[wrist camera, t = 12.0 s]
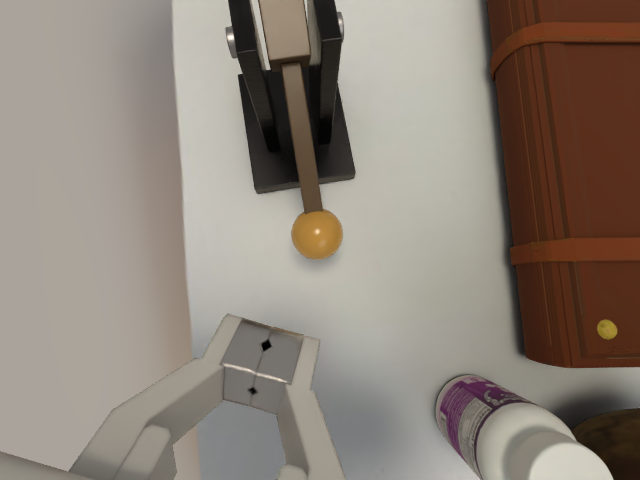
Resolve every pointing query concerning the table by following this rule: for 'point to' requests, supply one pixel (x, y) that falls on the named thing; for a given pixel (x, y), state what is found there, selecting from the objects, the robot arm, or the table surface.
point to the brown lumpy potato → (614, 441)
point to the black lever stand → (270, 103)
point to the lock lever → (299, 122)
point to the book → (572, 173)
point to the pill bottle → (511, 435)
